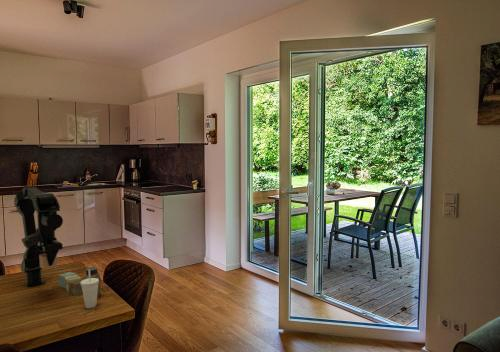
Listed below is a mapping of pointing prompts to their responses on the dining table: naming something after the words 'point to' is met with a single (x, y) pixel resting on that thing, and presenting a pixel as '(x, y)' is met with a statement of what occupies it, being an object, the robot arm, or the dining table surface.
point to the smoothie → (90, 291)
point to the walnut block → (75, 287)
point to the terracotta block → (46, 262)
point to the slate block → (62, 278)
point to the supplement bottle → (93, 275)
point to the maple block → (70, 278)
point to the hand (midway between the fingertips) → (48, 264)
